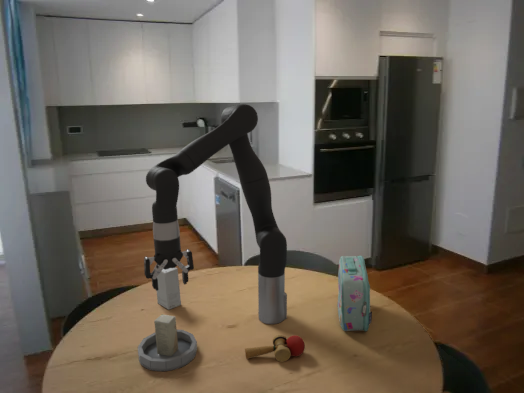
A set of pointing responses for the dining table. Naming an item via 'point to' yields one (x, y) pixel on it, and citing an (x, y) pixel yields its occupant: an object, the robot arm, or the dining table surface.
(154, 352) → the round tray
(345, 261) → the lunch box
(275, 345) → the kendama
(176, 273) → the skincare box
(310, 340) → the dining table surface
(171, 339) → the box
